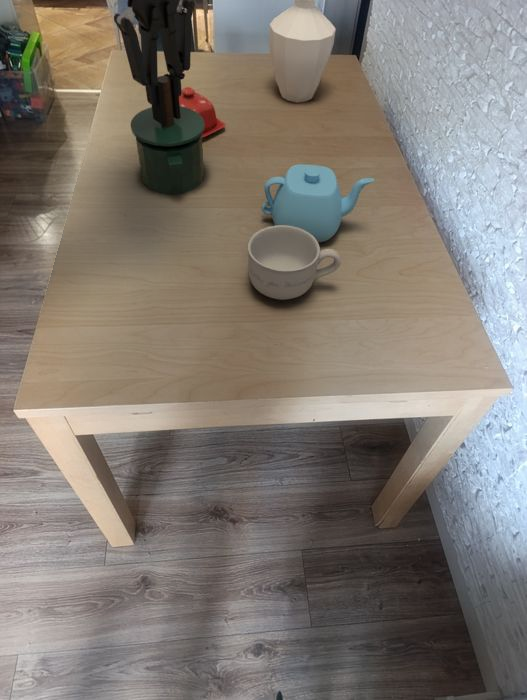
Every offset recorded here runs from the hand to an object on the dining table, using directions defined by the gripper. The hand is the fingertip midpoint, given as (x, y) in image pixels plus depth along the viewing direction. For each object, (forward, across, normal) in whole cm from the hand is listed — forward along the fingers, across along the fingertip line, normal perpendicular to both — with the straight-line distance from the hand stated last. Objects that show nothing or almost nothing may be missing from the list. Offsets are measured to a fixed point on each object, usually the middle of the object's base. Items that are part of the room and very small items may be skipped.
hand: (167, 118), depth 87 cm
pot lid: (+2, 0, 0) cm, 2 cm away
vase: (+12, +42, +8) cm, 45 cm away
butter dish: (+12, +13, +11) cm, 21 cm away
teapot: (+12, +10, -28) cm, 31 cm away
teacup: (+12, -4, -36) cm, 38 cm away
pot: (+11, 0, 0) cm, 11 cm away
